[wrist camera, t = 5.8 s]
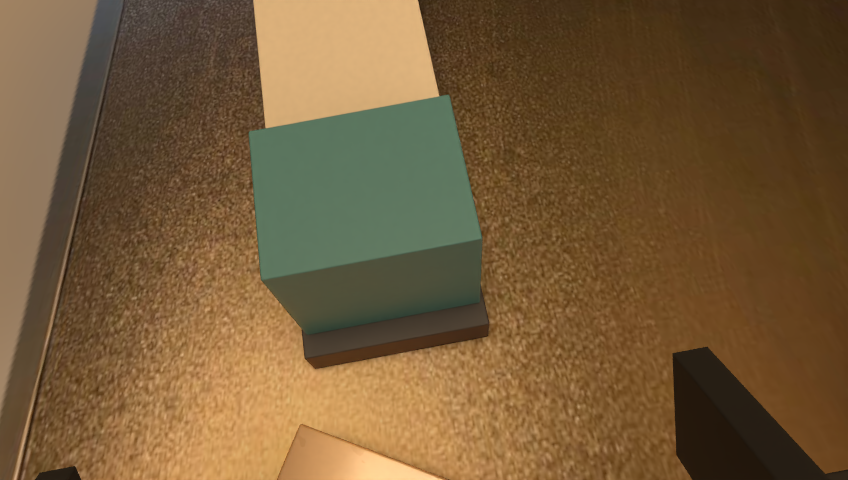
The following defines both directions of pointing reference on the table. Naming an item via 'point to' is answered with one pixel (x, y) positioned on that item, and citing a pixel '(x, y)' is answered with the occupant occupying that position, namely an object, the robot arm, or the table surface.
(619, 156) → the table surface
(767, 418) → the robot arm
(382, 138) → the stepped block stack
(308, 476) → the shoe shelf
